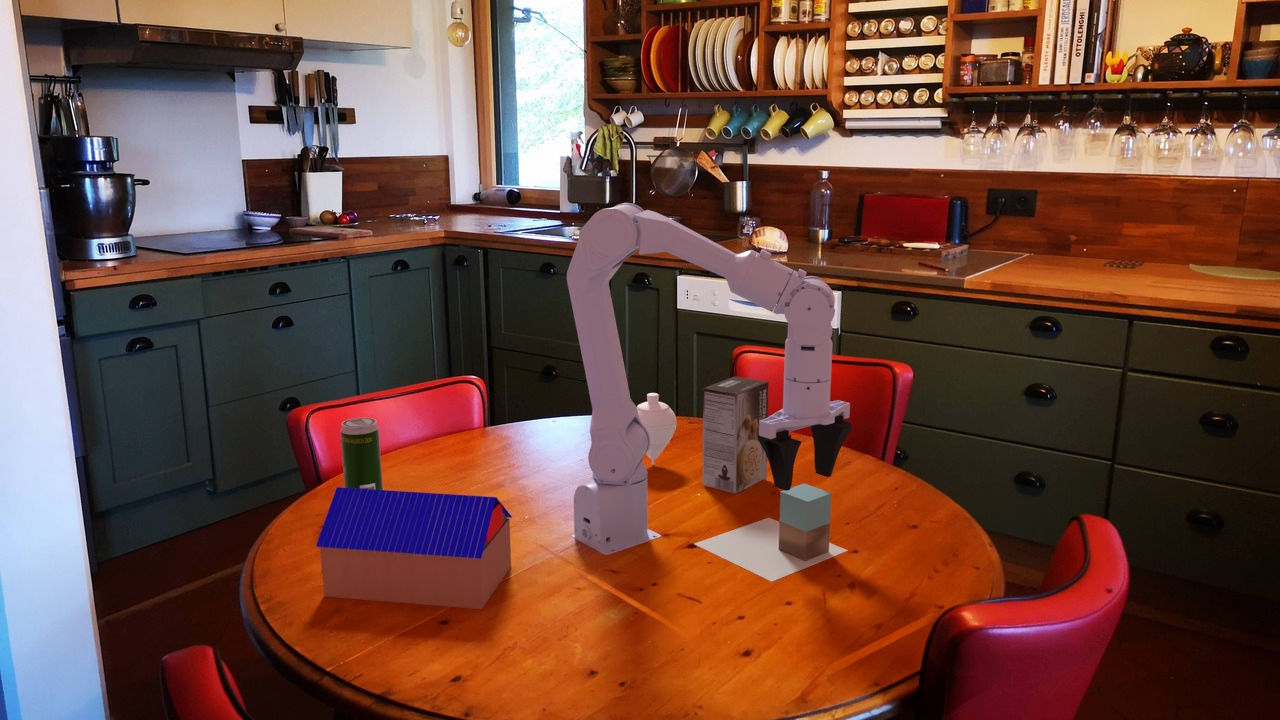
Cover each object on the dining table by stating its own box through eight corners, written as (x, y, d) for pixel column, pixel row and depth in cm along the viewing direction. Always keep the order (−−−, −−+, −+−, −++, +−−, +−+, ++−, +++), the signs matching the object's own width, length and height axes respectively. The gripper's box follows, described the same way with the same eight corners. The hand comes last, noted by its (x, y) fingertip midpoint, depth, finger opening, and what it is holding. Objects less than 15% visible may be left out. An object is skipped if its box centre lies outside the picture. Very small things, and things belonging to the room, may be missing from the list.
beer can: (389, 500, 143) (384, 423, 140) (354, 509, 140) (348, 430, 137) (374, 490, 147) (368, 415, 144) (340, 499, 144) (333, 421, 141)
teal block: (806, 531, 120) (807, 501, 119) (779, 521, 123) (780, 491, 122) (830, 522, 123) (831, 493, 122) (803, 512, 126) (804, 483, 125)
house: (365, 556, 125) (359, 470, 122) (514, 567, 122) (511, 479, 119) (320, 599, 113) (312, 505, 111) (483, 612, 110) (479, 516, 107)
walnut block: (804, 561, 121) (806, 531, 120) (778, 549, 124) (779, 520, 123) (828, 551, 124) (830, 522, 123) (802, 540, 127) (803, 512, 126)
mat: (771, 586, 116) (771, 581, 116) (693, 548, 126) (693, 543, 126) (847, 554, 124) (847, 550, 124) (768, 521, 135) (768, 517, 135)
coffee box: (732, 472, 154) (734, 374, 151) (767, 480, 151) (770, 381, 147) (700, 488, 147) (702, 387, 144) (736, 498, 144) (738, 393, 140)
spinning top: (622, 461, 160) (621, 391, 157) (663, 454, 163) (663, 385, 160) (641, 475, 153) (641, 402, 150) (684, 468, 156) (685, 397, 153)
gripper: (790, 393, 112) (786, 504, 115) (871, 374, 120) (865, 477, 124) (747, 381, 117) (745, 487, 120) (827, 364, 126) (823, 463, 129)
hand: (803, 481), depth 122 cm, fingers open, 7 cm apart
